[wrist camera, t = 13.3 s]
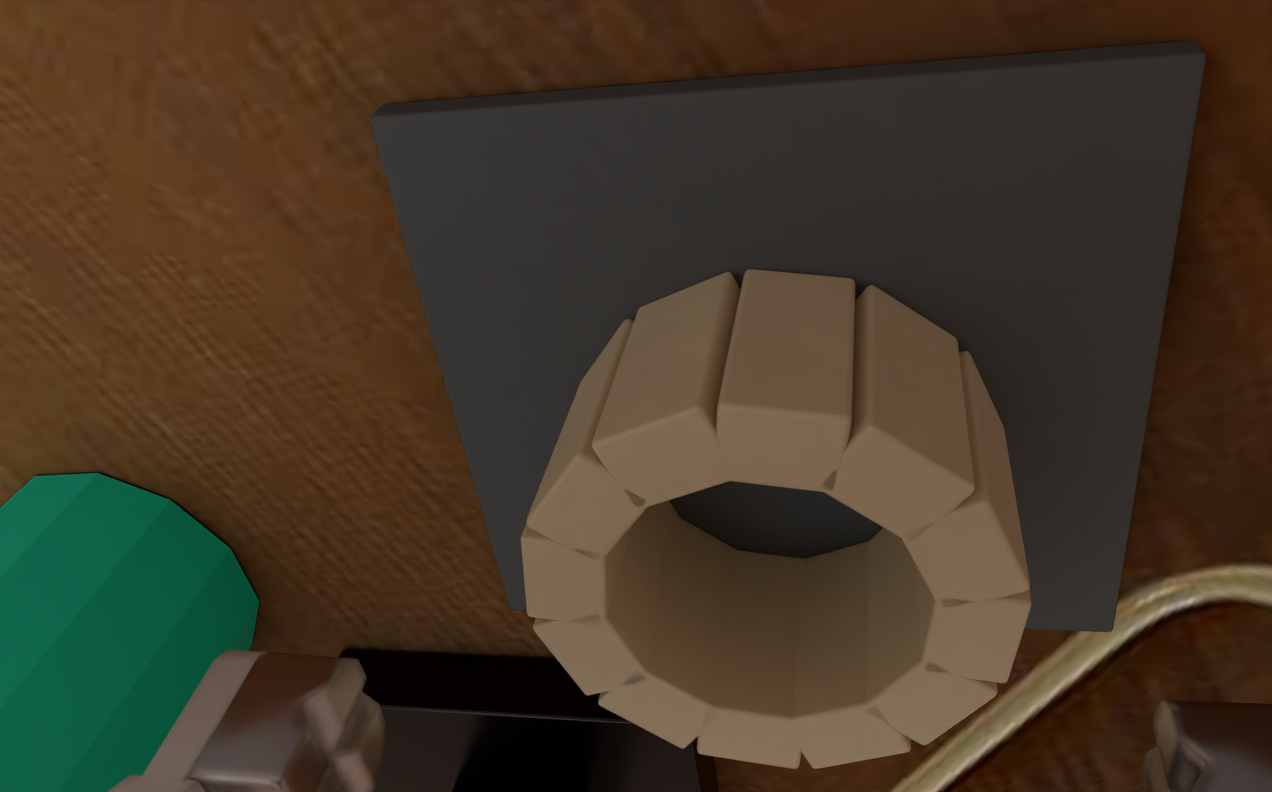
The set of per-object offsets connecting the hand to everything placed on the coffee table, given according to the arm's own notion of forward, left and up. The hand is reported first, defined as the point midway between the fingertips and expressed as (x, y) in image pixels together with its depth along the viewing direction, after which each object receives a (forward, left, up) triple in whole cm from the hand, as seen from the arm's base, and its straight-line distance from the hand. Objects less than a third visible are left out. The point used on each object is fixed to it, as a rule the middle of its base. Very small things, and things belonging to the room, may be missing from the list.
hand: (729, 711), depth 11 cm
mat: (+1, 0, -7) cm, 7 cm away
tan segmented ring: (+2, 0, -7) cm, 7 cm away
